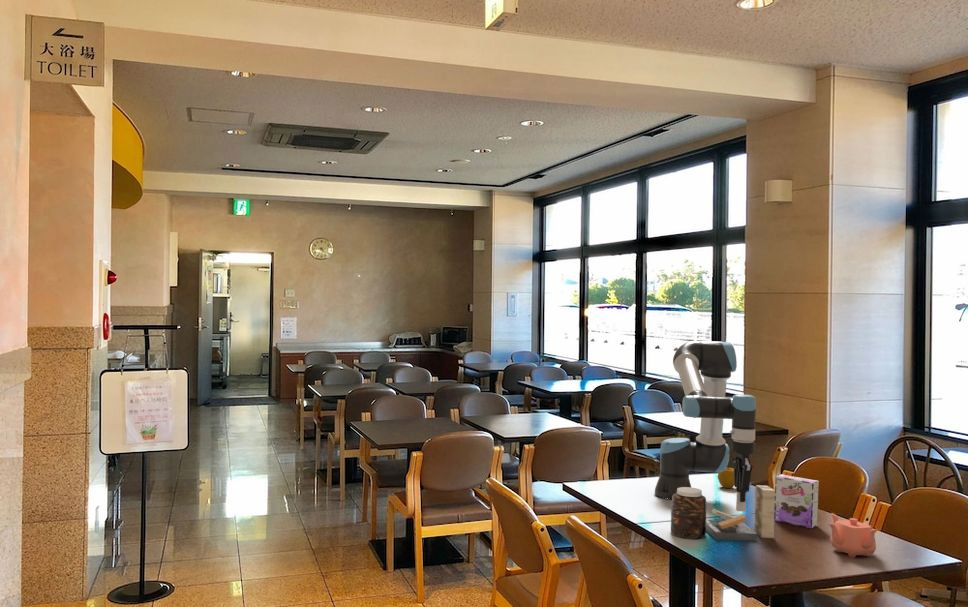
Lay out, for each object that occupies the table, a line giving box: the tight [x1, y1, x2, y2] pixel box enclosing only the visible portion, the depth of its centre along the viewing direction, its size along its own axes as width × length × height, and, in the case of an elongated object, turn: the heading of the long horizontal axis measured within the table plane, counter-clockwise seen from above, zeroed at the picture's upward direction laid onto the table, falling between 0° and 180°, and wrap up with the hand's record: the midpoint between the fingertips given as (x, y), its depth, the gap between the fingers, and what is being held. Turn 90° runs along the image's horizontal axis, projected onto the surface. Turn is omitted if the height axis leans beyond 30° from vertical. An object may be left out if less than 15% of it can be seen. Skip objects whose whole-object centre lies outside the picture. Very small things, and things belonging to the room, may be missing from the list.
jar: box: [670, 486, 707, 540], centre depth 260 cm, size 12×12×15 cm
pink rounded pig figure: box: [827, 512, 879, 558], centre depth 245 cm, size 14×14×11 cm
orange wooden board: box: [718, 514, 748, 529], centre depth 259 cm, size 3×9×1 cm, turn 91°
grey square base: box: [706, 518, 758, 542], centre depth 262 cm, size 15×14×4 cm
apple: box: [717, 466, 735, 489], centre depth 332 cm, size 8×8×9 cm
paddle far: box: [711, 508, 735, 520], centre depth 266 cm, size 3×9×1 cm, turn 91°
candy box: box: [774, 474, 820, 529], centre depth 279 cm, size 14×6×16 cm, turn 47°
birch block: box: [753, 484, 775, 539], centre depth 262 cm, size 7×4×16 cm, turn 0°
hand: (740, 510), depth 259 cm, fingers closed
